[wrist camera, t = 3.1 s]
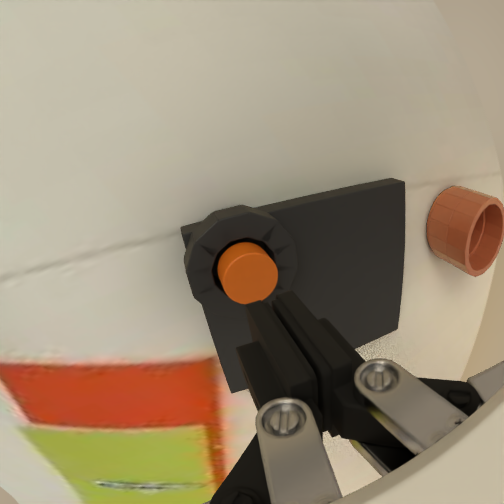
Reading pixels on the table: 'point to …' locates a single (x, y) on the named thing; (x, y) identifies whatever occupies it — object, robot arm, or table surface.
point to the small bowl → (466, 229)
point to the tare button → (247, 273)
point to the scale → (308, 262)
